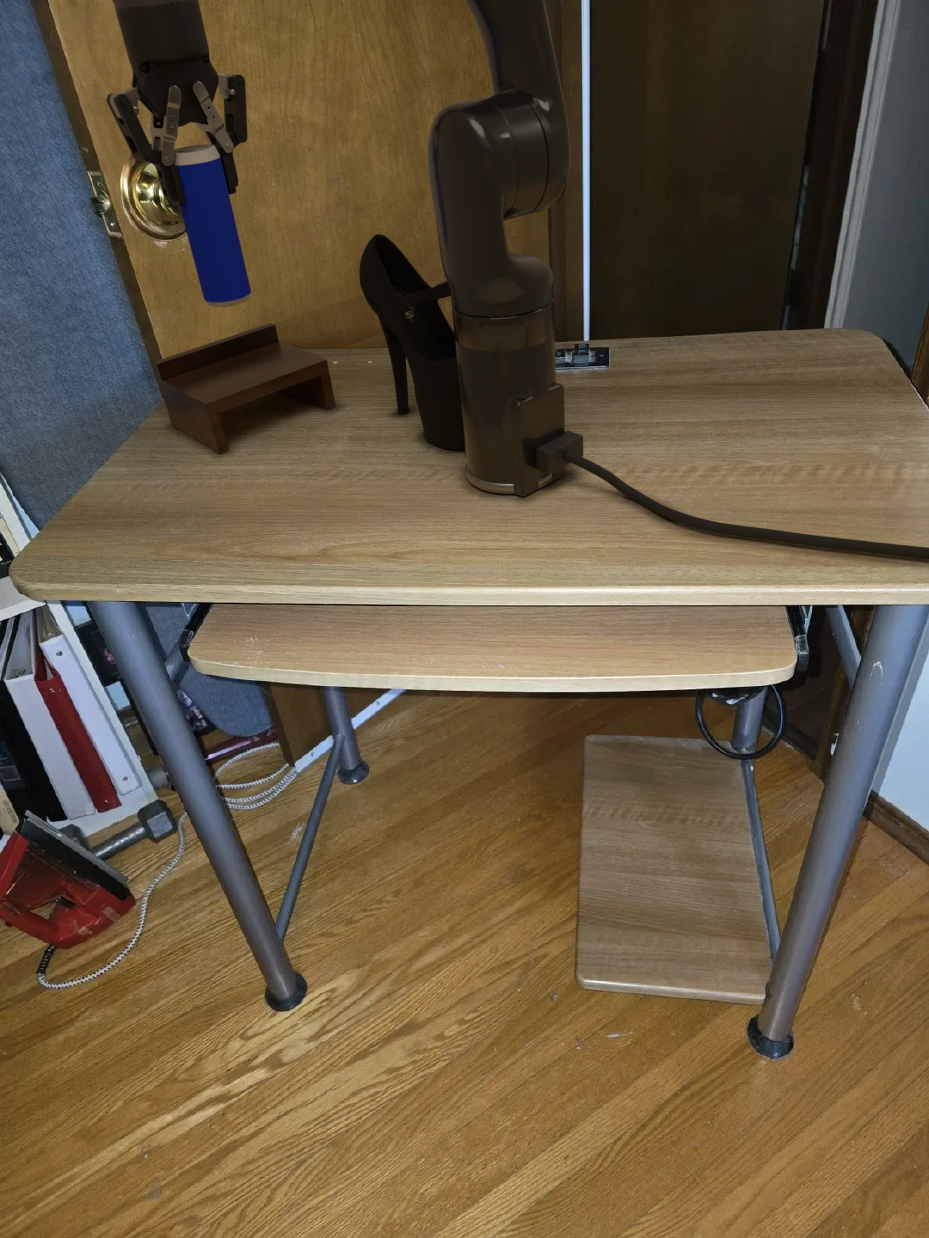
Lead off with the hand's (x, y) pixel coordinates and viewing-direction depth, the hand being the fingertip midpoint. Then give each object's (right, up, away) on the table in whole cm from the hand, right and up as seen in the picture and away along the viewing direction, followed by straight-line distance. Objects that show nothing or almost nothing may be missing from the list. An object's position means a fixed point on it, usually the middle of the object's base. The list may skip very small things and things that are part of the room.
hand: (204, 198), depth 91 cm
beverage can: (+1, -8, +6) cm, 11 cm away
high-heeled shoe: (+24, -22, +9) cm, 34 cm away
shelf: (+1, -19, +16) cm, 25 cm away
